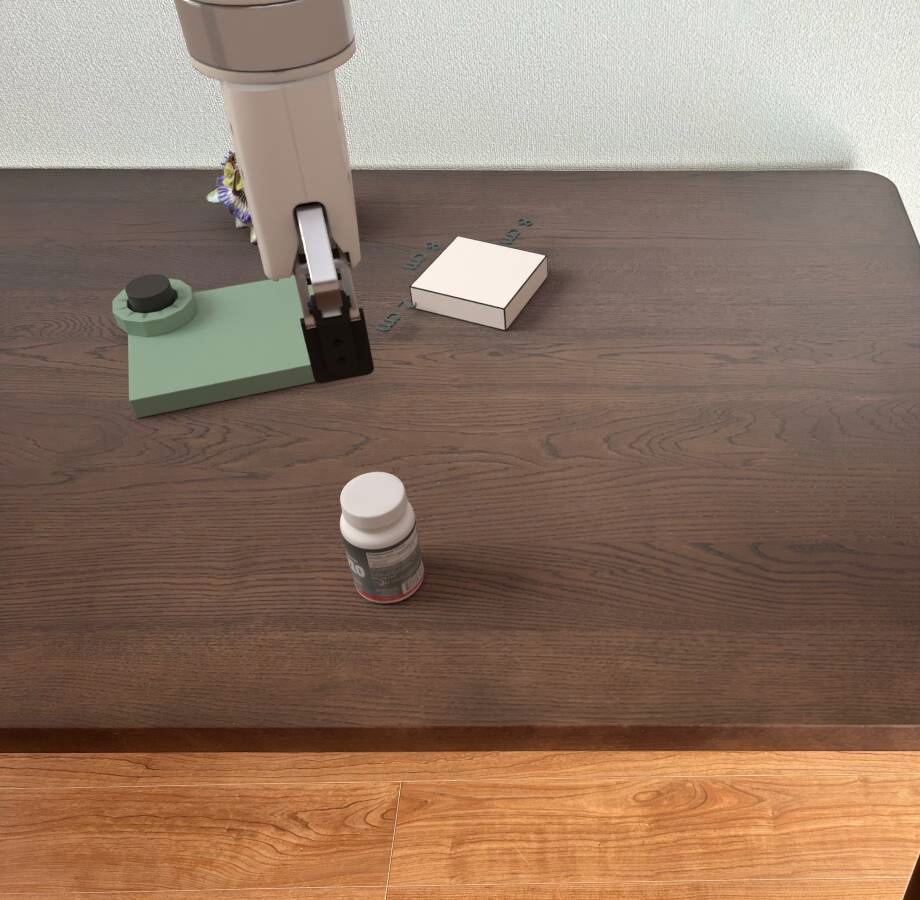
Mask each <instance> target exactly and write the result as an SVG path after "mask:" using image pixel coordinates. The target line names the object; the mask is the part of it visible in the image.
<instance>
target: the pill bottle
mask: <svg viewBox="0 0 920 900" xmlns="http://www.w3.org/2000/svg"><path fill="white" fill-rule="evenodd" d="M339 500H340V506H341V507H340V508H341V515H340V519H339V520H340V521H339V529H340V530H339V531H340V534H341V537H342V542H343V545H344V549H345V554H346V556H347V562H348V564H349V568H350V572H351V576H352V580H353V584H354V587H355V589H356V591H357V593H359V595H360V596H361V597H363V598H364V599H365V600H367V601H369V602H372V603H376V604H392V603H393V604H394V603H398V602H401V601H403V600H406V599H407V598H409V597H411V596H412V595H413V594H414V593H416V592H417V590H419V588H420V586H421V585H422V583H423V580H424V577H425V565H424V561H423V557H422V556H423V555H422V551H421V545H420V540H419V539H420V538H419V533H418V528H417V522H416V513H415V511H414V507H413V505H412V504H411V502H410V501H409V500H408V496H407V492H406V488H405V485H404V483H403V481H402V480H401V479H400V478H399V477H397V476H396V475H394V474H392V473H388V472H386V471H385V472H384V471H371V472H367V473H363V474H359V475H358V476H356V477H353V478H352V479H351V480H349V481H348V482H347V483H346V484H345V485H344V487H343V488H342V491H341V492H340V497H339Z"/></svg>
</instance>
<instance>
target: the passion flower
mask: <svg viewBox="0 0 920 900" xmlns="http://www.w3.org/2000/svg"><path fill="white" fill-rule="evenodd" d="M223 158H224V159H225V160H224V162H220V163H219V164H220V165H221V166H223V175H221V176H217V177H216V181H215V188H213V189H212V190H210V191H209V192H208V193H207V194H206V195H205V200H206V201H207V202H209V203H211V204H223V205H224V207H225V209H226V210H227V211H228V213H229V214H231V215H234V223H235V224H234V225H235V228H236V230H241V229H246V228H249V239H250V243H251V244H258V243H257V239H256V235H255V231H254V227H253V223H252V219H251V215H250V211H249V207H248V203H247V199H246V195H245V191H244V187H243V183H242V179H241V176H240V172H239V168H238V164H237V159H236V155H235V151H234V152H233V151H231V150H229V151H228V156H226V155H224V156H223Z"/></svg>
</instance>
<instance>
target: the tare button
mask: <svg viewBox="0 0 920 900" xmlns="http://www.w3.org/2000/svg"><path fill="white" fill-rule="evenodd" d="M169 279H170V278H168V277H167V276H165V275H163V274H158V273H150V274H143V275H140V276H138V277H135V278H133V279H131V281H129V282H128V283H127V284H126V286H125V288H124V289H125V292H126V294H127V297H128V299H129V302H130V304H131V307H132V309H133V310H134V311H135V312H137V313H144V314H147V313H152V312H158V311H161V310H163V309H165V308H167V307H169V306H172V304H173V303H174V302H175V295H174V292H173V290H172V287H171V284H170V281H169Z"/></svg>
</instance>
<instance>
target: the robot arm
mask: <svg viewBox="0 0 920 900" xmlns="http://www.w3.org/2000/svg"><path fill="white" fill-rule="evenodd" d="M173 2H174V6H175V9H176V13H177V17H178V21H179V24H180V27H181V31H182V34H183V38H184V42H185V45H186V49H187V53H188V57H189V60H190V63H191V66H192V67H193V69H194V70H195V71H197V72H198V73H199V74H201V75H203V76H205V77H207V78H209V79H212V80H217V81H219V86H220V91H221V98H222V103H223V106H224V108H223V109H224V112H225V116H226V117H225V118H226V120H227V126H228V131H229V134H230V138H231V143H232V148H233V151H234V152H235V155H236V159H237V164H238V168H239V172H240V176H241V179H242V183H243V187H244V191H245V195H246V199H247V203H248V207H249V211H250V215H251V219H252V223H253V227H254V231H255V235H256V239H257V243H256V244H257V247H258V251H259V255H260V259H261V264H262V269H263V272H264V275H265V276H266V278H268V280H269V279H271V280H273V281H279V279H282V278H290V277H291V276H292V274H293V275H294V276H295V280H296V284H297V289H298V293H299V298H300V302H301V307H302V311H303V316H304V318H300V323H301V327H302V331H303V335H304V340H305V344H306V348H307V352H308V356H309V360H310V364H311V368H312V372H313V376H314V380H315V381H316V382H315V383H317V384H326V383H332V382H336V381H341V380H342V381H343V380H347V379H352V378H359V377H363V376H368V375H371V374H373V372H374V370H375V365H374V359H373V355H372V350H371V349H372V348H371V345H370V339H369V334H368V328H367V323H366V316H365V311H364V308H363V307H359V304H358V300H357V296H356V289H355V285H354V281H353V276H352V272H351V270H354V269H355V268H356V267H357V266H358V264H359V263H360V262H361V259H362V257H361V256H362V255H361V246H360V236H359V227H358V225H359V224H358V218H357V217H358V215H357V208H356V207H357V206H356V200H355V192H354V183H353V176H352V169H351V161H350V154H349V149H348V148H349V147H348V141H347V136H346V131H345V124H344V117H343V112H342V111H343V110H342V106H341V100H340V99H341V98H340V94H339V88H338V82H337V77H336V71H335V70H336V69H337V68H340V67H341V66H343V65H345V64H346V63H347V62H348V61H349V60H351V59H352V58H353V56H354V54H355V53H356V51H357V43H356V36H355V30H354V23H353V17H352V11H351V4H350V0H173ZM340 281H341V284H342V289H341V288H340V283H339V282H340ZM308 285H312V287H313V291H314V295H310V293H309V289H308ZM310 297H311V298H310Z"/></svg>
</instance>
